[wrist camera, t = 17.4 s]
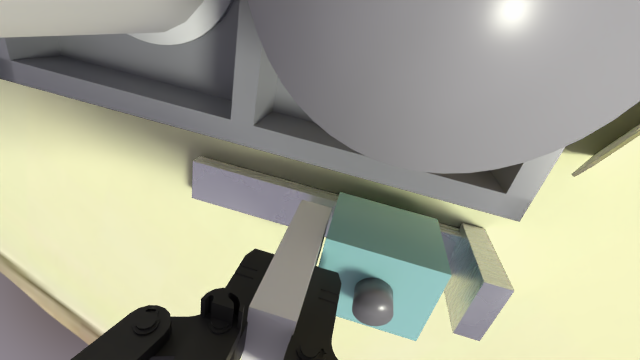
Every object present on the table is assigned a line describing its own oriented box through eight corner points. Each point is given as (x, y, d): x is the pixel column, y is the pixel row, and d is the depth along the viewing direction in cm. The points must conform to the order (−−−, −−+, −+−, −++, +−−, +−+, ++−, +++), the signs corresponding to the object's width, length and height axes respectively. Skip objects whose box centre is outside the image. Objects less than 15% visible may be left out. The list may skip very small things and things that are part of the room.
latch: (339, 191, 16) (321, 254, 12) (437, 219, 16) (457, 295, 11) (323, 251, 18) (302, 325, 13) (410, 277, 17) (417, 362, 13)
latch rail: (200, 149, 18) (148, 183, 14) (485, 228, 17) (514, 290, 13) (199, 197, 19) (151, 239, 15) (460, 273, 18) (479, 341, 14)
